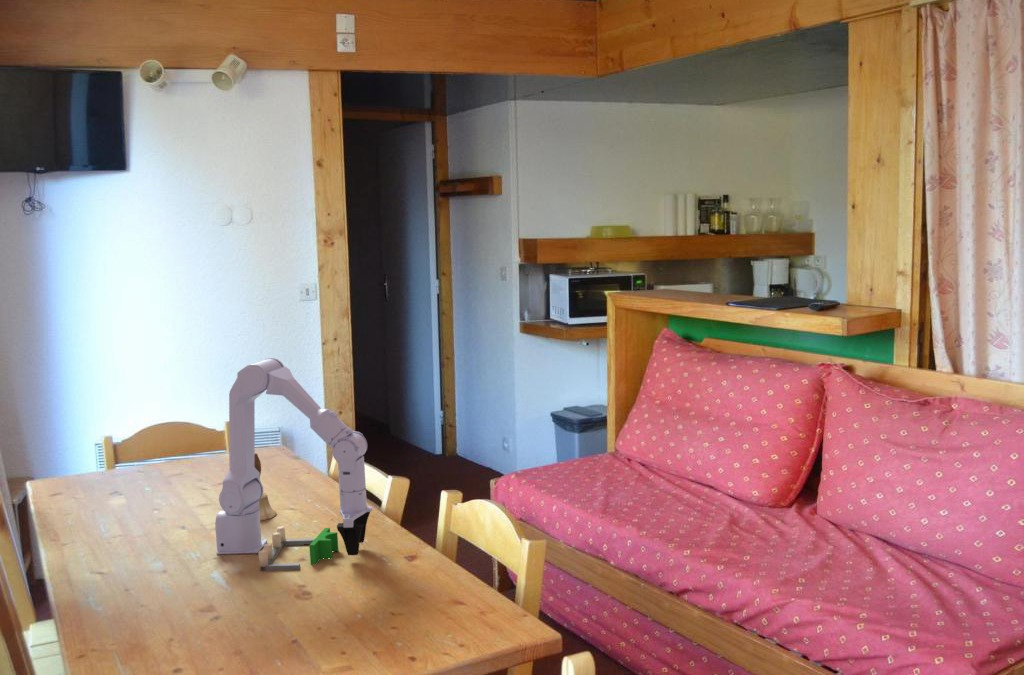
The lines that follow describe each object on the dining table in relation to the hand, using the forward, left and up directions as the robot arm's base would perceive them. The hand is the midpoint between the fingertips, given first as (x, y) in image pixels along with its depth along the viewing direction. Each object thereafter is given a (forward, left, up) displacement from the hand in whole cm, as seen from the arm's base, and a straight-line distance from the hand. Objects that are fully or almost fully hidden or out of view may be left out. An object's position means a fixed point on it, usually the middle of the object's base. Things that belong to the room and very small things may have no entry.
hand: (356, 548), depth 213 cm
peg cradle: (-14, 0, -1) cm, 14 cm away
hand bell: (-29, +29, -2) cm, 41 cm away
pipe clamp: (-7, 0, -2) cm, 7 cm away
